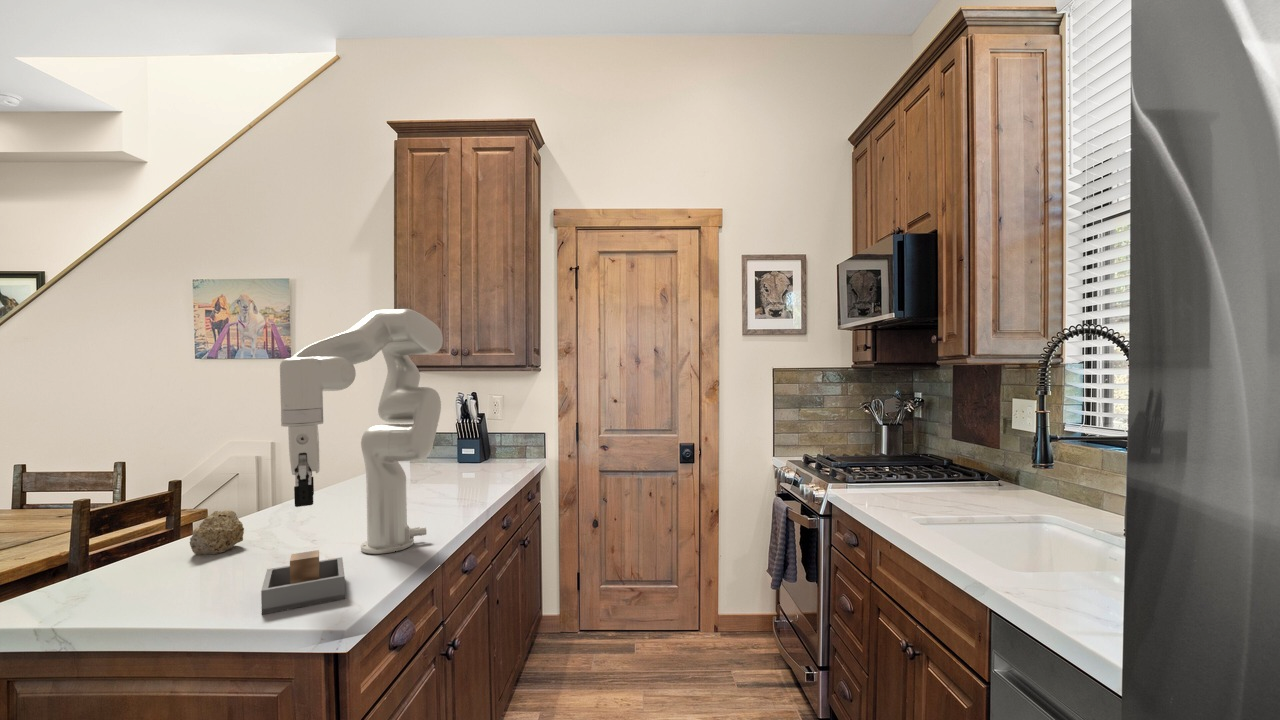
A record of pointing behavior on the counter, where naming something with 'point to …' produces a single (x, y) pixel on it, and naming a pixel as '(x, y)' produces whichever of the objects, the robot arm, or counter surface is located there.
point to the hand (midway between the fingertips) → (304, 500)
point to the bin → (302, 587)
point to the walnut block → (304, 567)
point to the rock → (217, 533)
